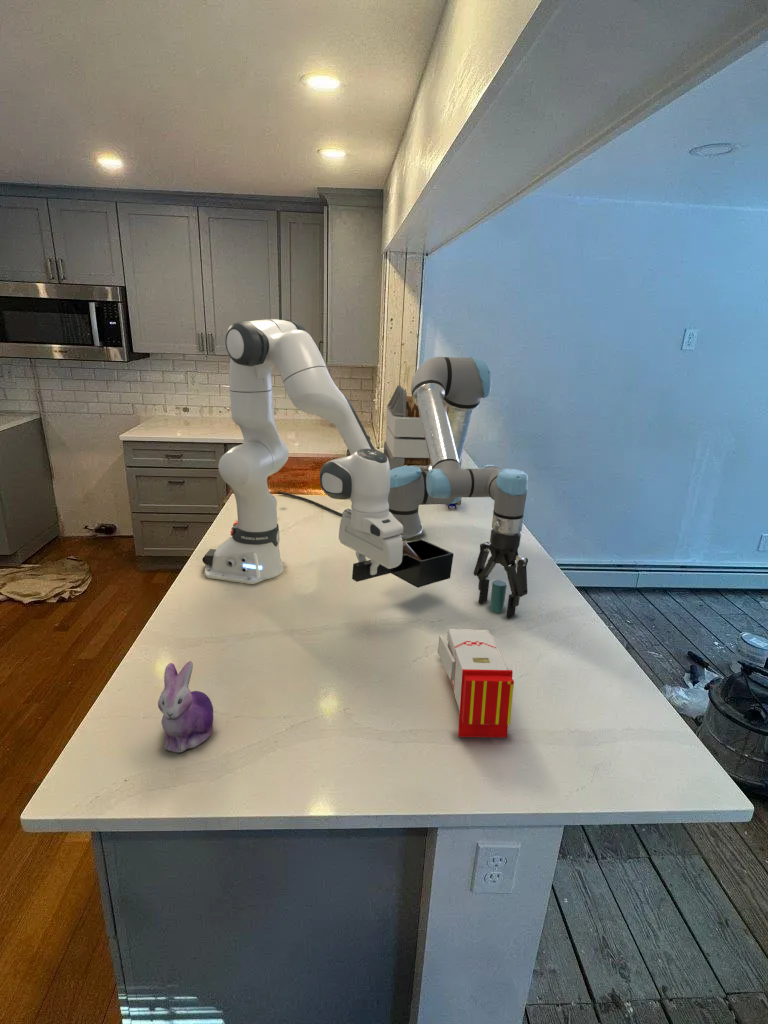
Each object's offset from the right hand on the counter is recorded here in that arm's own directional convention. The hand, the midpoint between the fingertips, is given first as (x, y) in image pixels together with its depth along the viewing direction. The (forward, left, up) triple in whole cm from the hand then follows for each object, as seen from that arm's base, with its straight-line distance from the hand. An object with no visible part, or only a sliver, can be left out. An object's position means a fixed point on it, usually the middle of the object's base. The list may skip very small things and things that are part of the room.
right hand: (496, 608), depth 152 cm
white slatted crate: (-108, +76, 0) cm, 132 cm away
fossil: (-153, +73, 0) cm, 170 cm away
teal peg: (0, 0, 0) cm, 0 cm away
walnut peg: (-16, -14, +10) cm, 24 cm away
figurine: (-4, -83, 0) cm, 83 cm away
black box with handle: (-16, -22, +8) cm, 29 cm away
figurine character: (-66, +53, 0) cm, 85 cm away
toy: (+19, -32, 0) cm, 37 cm away
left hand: (-16, -32, +14) cm, 38 cm away
